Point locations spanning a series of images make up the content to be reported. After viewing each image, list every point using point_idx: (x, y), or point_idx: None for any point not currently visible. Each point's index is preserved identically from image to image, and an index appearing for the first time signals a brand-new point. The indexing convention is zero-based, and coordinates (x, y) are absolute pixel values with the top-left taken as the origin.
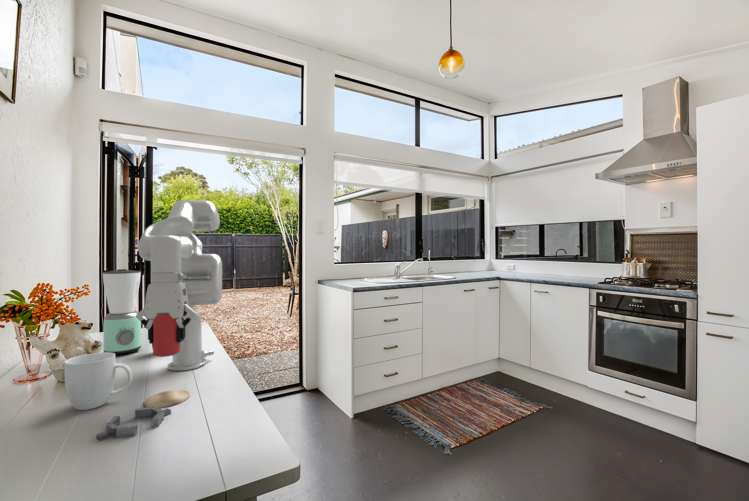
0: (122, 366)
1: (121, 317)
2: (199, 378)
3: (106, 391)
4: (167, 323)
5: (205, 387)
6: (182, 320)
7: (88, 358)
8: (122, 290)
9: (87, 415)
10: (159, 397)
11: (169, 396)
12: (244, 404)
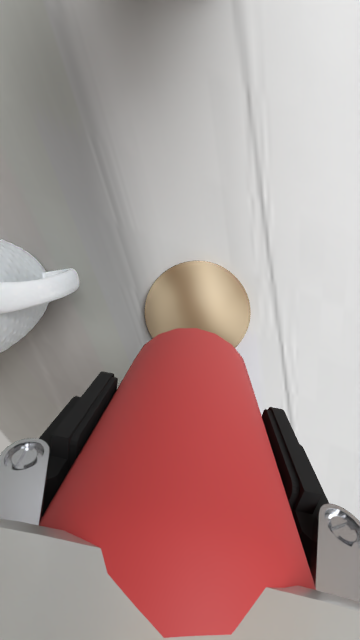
0: (25, 307)
1: None
2: (268, 137)
3: (40, 315)
4: None
5: (291, 250)
6: (341, 593)
7: None
8: None
9: (48, 343)
10: (175, 307)
11: (199, 308)
12: None
